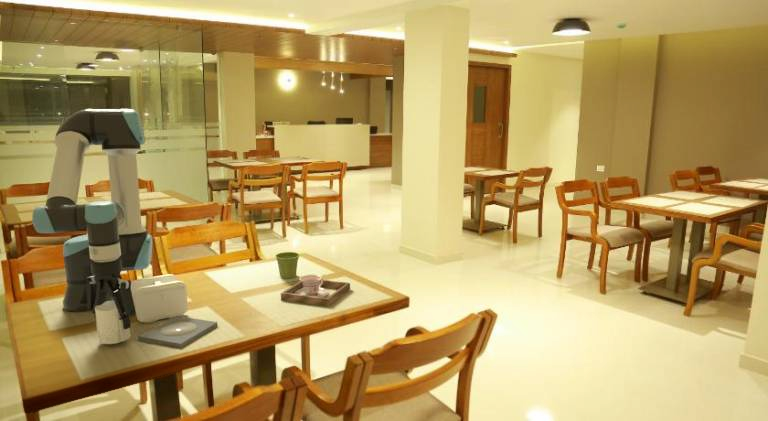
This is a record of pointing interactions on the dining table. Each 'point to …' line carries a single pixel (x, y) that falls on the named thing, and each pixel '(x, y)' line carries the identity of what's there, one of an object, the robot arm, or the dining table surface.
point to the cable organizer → (159, 297)
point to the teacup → (312, 286)
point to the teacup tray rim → (290, 296)
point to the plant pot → (287, 264)
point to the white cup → (108, 322)
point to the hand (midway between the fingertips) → (114, 336)
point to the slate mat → (178, 331)
